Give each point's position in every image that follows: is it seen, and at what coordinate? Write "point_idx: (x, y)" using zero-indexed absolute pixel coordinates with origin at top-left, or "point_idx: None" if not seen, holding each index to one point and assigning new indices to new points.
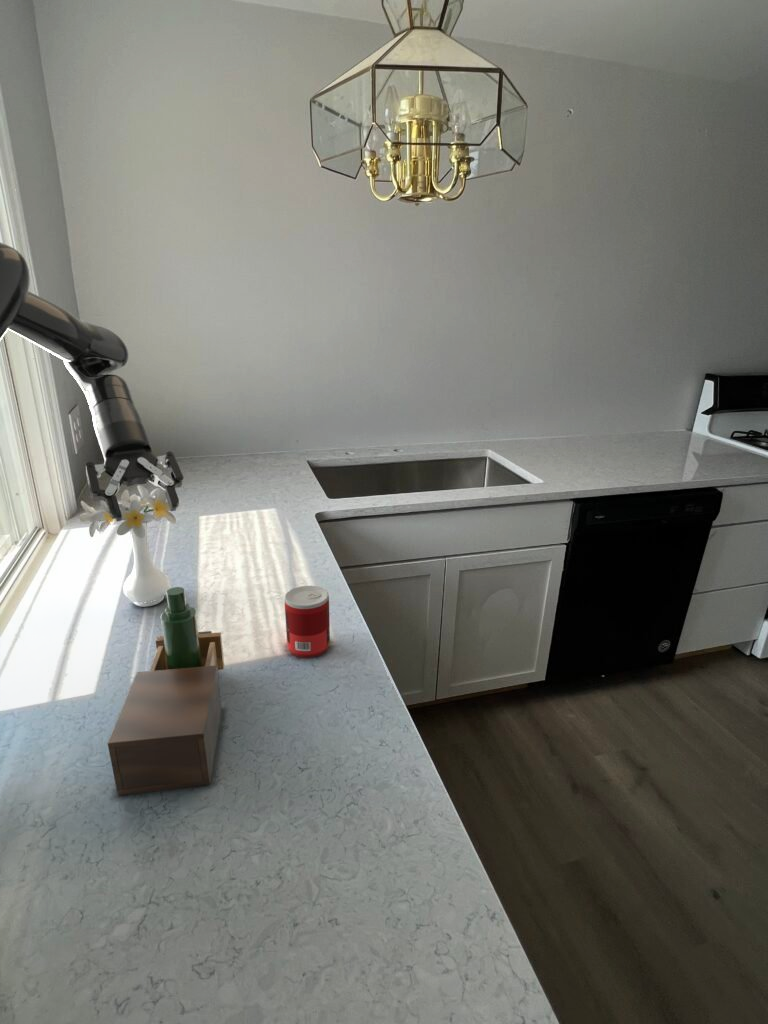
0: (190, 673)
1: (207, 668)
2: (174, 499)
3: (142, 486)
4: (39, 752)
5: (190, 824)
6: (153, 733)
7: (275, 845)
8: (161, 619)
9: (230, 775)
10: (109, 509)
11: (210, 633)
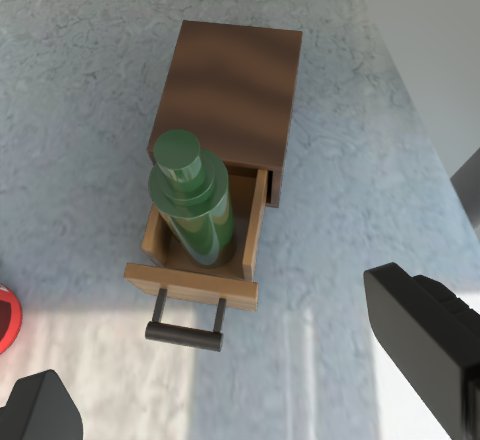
0: None
1: None
2: (7, 410)
3: None
4: (411, 180)
5: None
6: (245, 33)
7: (144, 6)
8: (226, 169)
9: None
10: (458, 301)
11: (144, 278)
